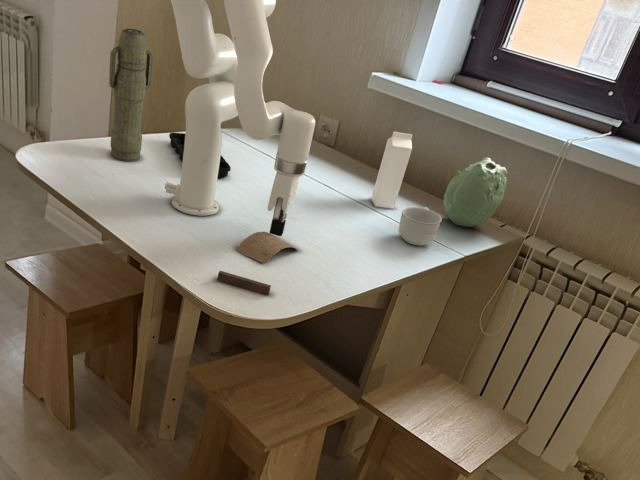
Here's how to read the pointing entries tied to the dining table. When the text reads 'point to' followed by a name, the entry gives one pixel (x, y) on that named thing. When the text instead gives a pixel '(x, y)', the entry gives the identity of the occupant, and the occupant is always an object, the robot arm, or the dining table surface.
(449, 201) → the green vase
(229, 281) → the bar
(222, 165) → the egg carton
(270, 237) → the brown curved bark
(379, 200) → the milk
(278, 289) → the dining table surface
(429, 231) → the teacup
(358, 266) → the dining table surface
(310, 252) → the dining table surface
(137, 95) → the thermos
